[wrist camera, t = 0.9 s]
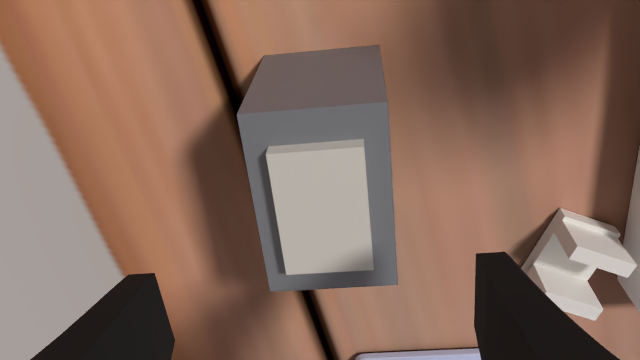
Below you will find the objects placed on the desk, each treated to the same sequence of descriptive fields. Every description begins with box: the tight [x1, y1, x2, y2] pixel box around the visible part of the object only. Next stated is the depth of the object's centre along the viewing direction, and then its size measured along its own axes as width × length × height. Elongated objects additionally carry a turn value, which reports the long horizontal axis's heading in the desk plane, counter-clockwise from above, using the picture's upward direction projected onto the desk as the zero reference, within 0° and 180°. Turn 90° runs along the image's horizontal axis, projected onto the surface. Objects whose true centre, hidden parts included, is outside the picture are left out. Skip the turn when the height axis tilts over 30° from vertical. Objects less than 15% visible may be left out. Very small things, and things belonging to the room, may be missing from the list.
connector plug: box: [237, 45, 398, 292], centre depth 19 cm, size 6×4×6 cm, turn 6°
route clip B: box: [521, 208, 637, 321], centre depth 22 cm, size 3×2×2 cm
